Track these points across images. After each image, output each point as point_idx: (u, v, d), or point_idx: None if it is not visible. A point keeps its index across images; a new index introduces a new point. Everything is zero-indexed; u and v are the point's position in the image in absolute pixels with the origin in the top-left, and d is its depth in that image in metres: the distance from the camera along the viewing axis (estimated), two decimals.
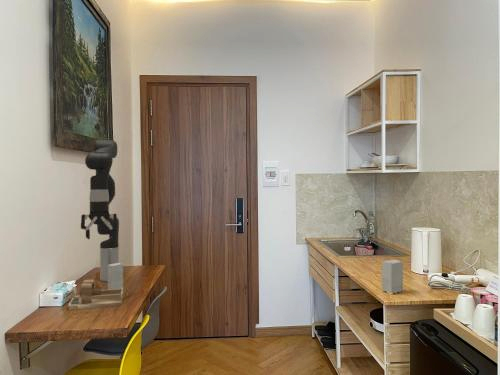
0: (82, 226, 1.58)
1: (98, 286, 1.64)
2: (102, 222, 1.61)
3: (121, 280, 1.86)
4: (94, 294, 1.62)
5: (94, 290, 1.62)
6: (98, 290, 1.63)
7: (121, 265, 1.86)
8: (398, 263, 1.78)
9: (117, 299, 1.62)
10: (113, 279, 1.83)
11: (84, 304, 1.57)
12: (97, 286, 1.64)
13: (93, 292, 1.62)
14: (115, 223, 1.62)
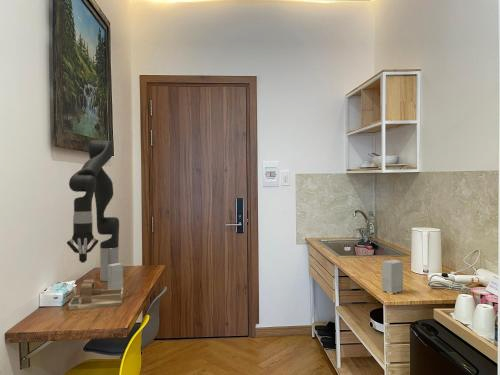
0: (75, 250, 1.61)
1: (98, 286, 1.64)
2: (82, 242, 1.62)
3: (121, 280, 1.86)
4: (94, 294, 1.62)
5: (94, 290, 1.62)
6: (98, 290, 1.63)
7: (121, 265, 1.86)
8: (398, 263, 1.78)
9: (117, 299, 1.62)
10: (113, 279, 1.83)
11: (84, 304, 1.57)
12: (97, 286, 1.64)
13: (93, 292, 1.62)
14: (91, 248, 1.63)
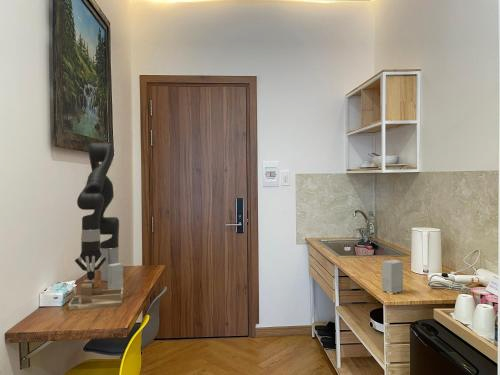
0: (84, 268, 1.62)
1: (99, 286, 1.64)
2: (90, 260, 1.63)
3: (121, 280, 1.86)
4: (95, 294, 1.62)
5: (95, 290, 1.62)
6: (99, 290, 1.63)
7: (121, 265, 1.86)
8: (398, 263, 1.78)
9: (117, 299, 1.62)
10: (113, 279, 1.83)
11: (84, 304, 1.57)
12: (98, 286, 1.64)
13: (94, 292, 1.62)
14: (99, 266, 1.64)
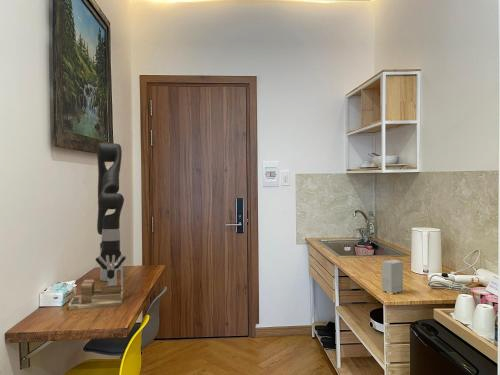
0: (104, 266, 1.65)
1: (119, 285, 1.67)
2: (110, 259, 1.65)
3: (121, 280, 1.86)
4: (115, 292, 1.65)
5: (115, 288, 1.65)
6: (119, 288, 1.65)
7: (121, 265, 1.86)
8: (398, 263, 1.78)
9: (117, 299, 1.62)
10: (113, 279, 1.83)
11: (84, 304, 1.57)
12: (118, 285, 1.67)
13: (114, 290, 1.65)
14: (118, 264, 1.66)
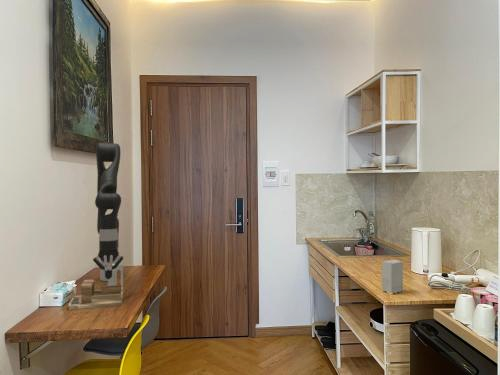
0: (102, 267, 1.64)
1: (119, 285, 1.67)
2: (108, 259, 1.65)
3: (121, 280, 1.86)
4: (115, 292, 1.65)
5: (115, 288, 1.65)
6: (119, 288, 1.65)
7: (121, 265, 1.86)
8: (398, 263, 1.78)
9: (117, 299, 1.62)
10: (113, 279, 1.83)
11: (84, 304, 1.57)
12: (118, 285, 1.67)
13: (114, 290, 1.64)
14: (116, 265, 1.66)
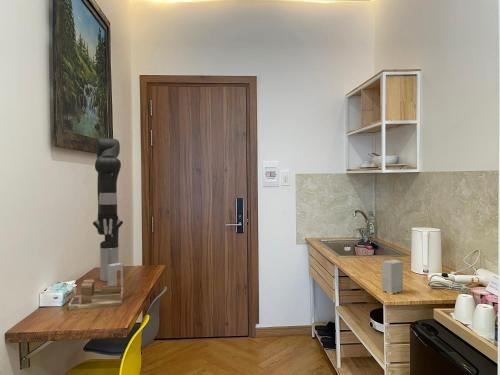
0: (101, 230, 1.65)
1: (119, 285, 1.67)
2: (107, 223, 1.66)
3: (121, 280, 1.86)
4: (115, 292, 1.65)
5: (115, 288, 1.65)
6: (119, 288, 1.65)
7: (121, 265, 1.86)
8: (398, 263, 1.78)
9: (117, 299, 1.62)
10: (113, 279, 1.83)
11: (84, 304, 1.57)
12: (118, 285, 1.67)
13: (114, 290, 1.64)
14: (116, 229, 1.67)
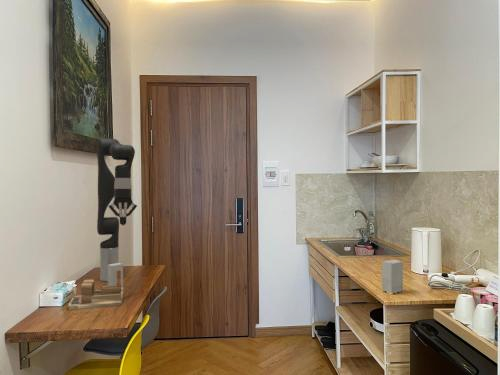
0: (117, 213, 1.75)
1: (119, 285, 1.67)
2: (122, 206, 1.76)
3: (121, 280, 1.86)
4: (115, 292, 1.65)
5: (115, 288, 1.65)
6: (119, 288, 1.65)
7: (121, 265, 1.86)
8: (398, 263, 1.78)
9: (117, 299, 1.62)
10: (113, 279, 1.83)
11: (84, 304, 1.57)
12: (118, 285, 1.67)
13: (114, 290, 1.64)
14: (130, 212, 1.77)
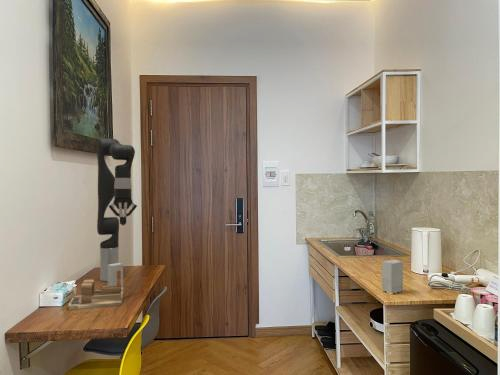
0: (117, 213, 1.75)
1: (119, 285, 1.67)
2: (122, 206, 1.76)
3: (121, 280, 1.86)
4: (115, 292, 1.65)
5: (115, 288, 1.65)
6: (119, 288, 1.65)
7: (121, 265, 1.86)
8: (398, 263, 1.78)
9: (117, 299, 1.62)
10: (113, 279, 1.83)
11: (84, 304, 1.57)
12: (118, 285, 1.67)
13: (114, 290, 1.64)
14: (130, 212, 1.77)
